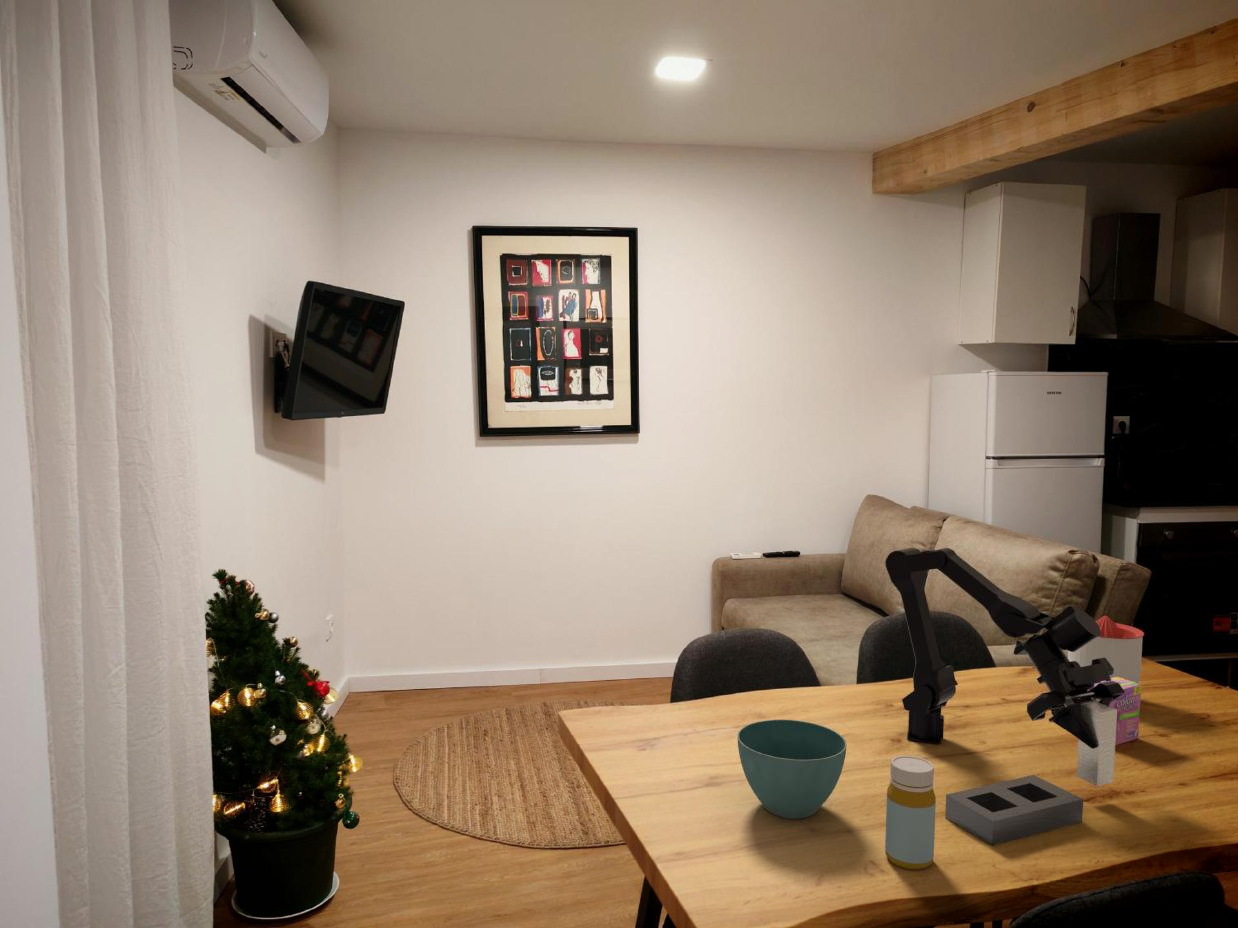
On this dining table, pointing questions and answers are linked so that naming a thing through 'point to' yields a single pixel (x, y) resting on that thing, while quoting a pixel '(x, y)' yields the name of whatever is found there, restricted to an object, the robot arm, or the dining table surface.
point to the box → (1126, 710)
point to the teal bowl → (791, 764)
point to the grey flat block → (1013, 809)
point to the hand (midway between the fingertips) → (1103, 745)
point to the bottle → (910, 813)
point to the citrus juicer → (1114, 649)
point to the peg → (1098, 744)
